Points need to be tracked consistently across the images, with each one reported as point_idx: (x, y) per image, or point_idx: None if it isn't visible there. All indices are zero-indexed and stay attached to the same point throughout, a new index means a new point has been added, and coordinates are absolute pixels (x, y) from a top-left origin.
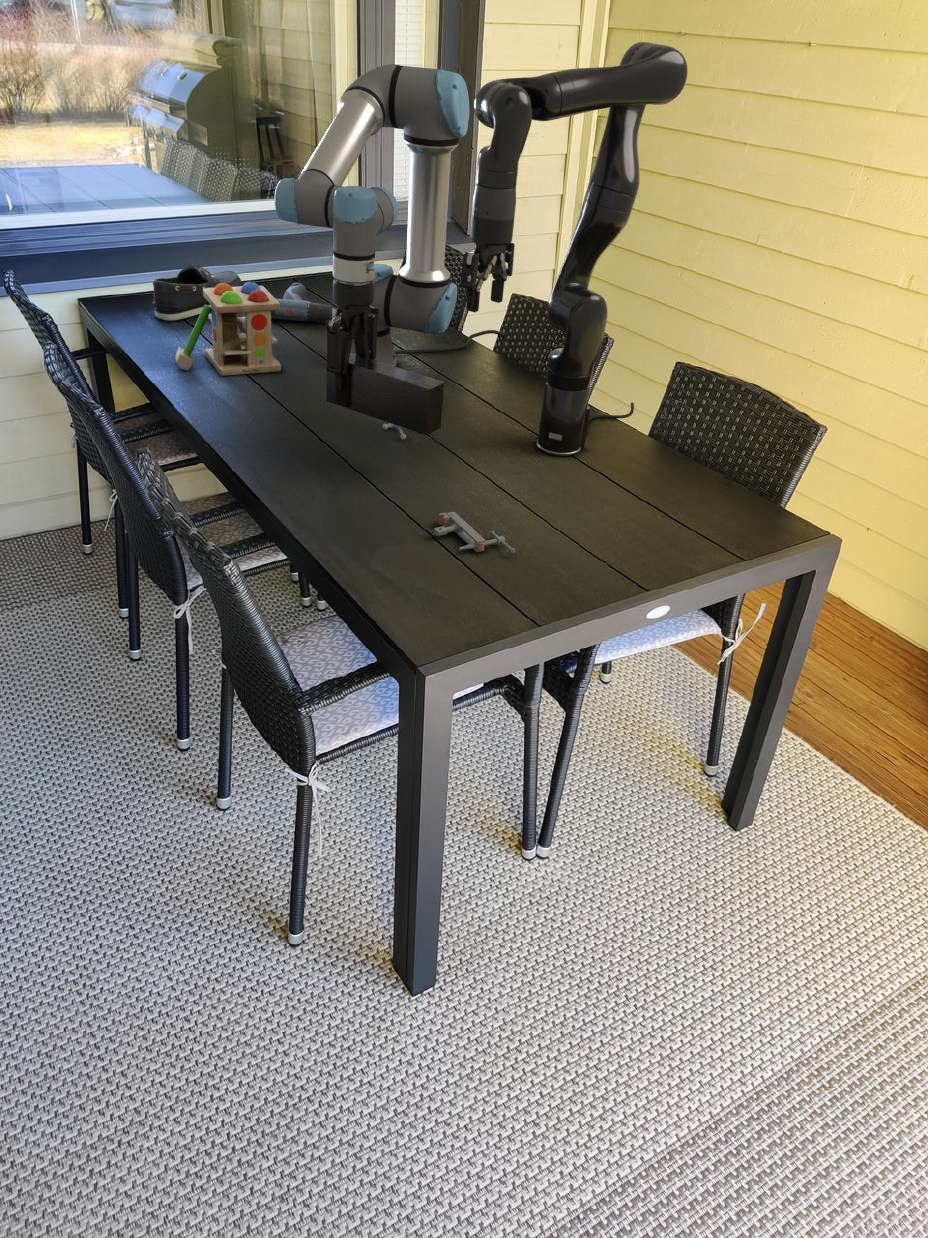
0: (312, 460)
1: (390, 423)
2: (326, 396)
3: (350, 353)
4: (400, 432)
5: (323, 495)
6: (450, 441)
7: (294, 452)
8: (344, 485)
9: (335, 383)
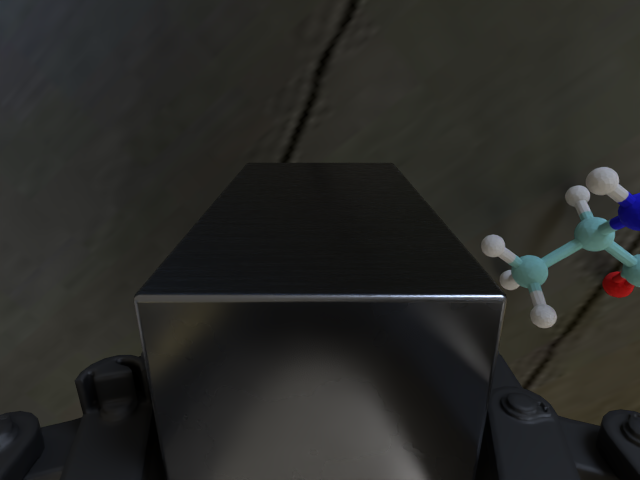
0: (174, 151)
1: (576, 200)
2: (242, 169)
3: (444, 442)
4: (512, 277)
5: (41, 318)
6: (578, 372)
7: (171, 56)
8: (130, 323)
9: (142, 355)
